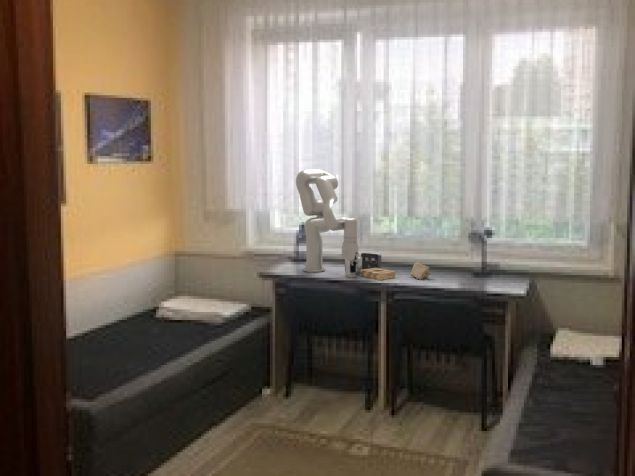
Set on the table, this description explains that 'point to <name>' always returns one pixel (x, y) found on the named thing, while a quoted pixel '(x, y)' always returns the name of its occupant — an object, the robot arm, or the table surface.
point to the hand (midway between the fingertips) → (350, 271)
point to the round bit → (359, 266)
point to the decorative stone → (420, 271)
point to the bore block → (377, 273)
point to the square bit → (348, 269)
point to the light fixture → (371, 260)
